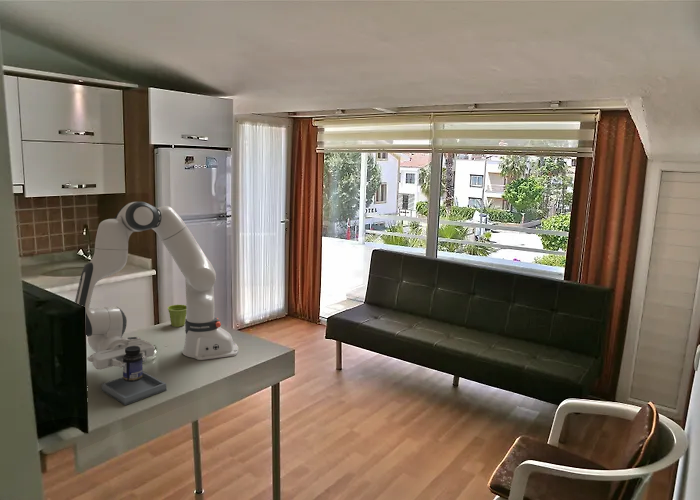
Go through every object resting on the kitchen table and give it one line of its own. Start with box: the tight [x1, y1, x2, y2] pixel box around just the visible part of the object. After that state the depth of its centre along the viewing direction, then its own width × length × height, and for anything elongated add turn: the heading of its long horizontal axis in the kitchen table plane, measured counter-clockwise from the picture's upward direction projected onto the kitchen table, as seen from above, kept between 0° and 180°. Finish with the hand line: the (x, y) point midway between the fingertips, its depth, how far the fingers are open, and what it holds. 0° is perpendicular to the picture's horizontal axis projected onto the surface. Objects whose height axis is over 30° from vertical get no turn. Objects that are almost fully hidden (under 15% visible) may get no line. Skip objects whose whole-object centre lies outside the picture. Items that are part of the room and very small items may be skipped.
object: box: [167, 304, 186, 328], centre depth 241 cm, size 9×9×9 cm
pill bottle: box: [122, 346, 143, 382], centre depth 174 cm, size 6×6×11 cm
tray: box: [101, 370, 167, 406], centre depth 175 cm, size 15×15×2 cm
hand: (134, 362), depth 173 cm, fingers closed on pill bottle, 6 cm apart
